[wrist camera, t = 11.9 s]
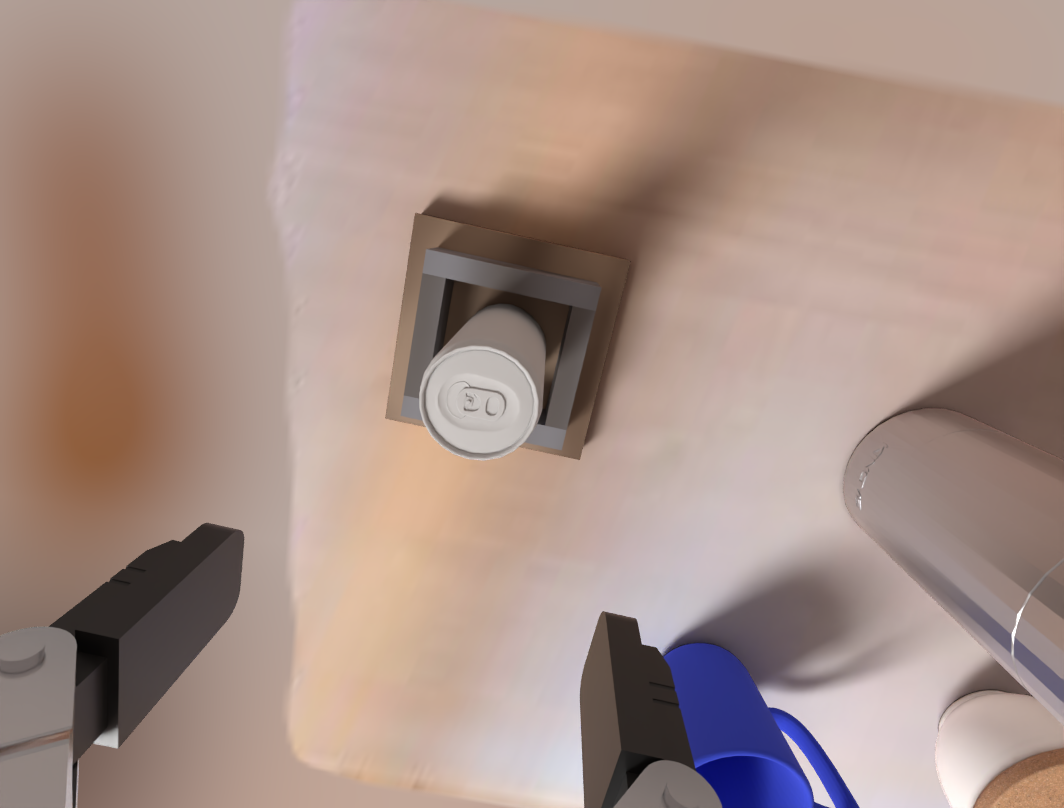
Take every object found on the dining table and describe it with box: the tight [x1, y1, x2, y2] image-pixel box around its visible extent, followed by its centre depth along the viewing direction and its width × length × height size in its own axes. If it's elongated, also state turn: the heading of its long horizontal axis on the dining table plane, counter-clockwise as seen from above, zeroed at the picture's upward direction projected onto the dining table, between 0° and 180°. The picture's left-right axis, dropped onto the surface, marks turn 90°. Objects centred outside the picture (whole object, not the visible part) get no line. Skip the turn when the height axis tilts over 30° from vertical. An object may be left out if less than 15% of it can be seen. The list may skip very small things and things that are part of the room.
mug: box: [663, 643, 859, 808], centre depth 37 cm, size 8×12×10 cm
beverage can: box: [419, 304, 546, 460], centre depth 27 cm, size 5×5×12 cm
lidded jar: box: [935, 690, 1064, 808], centre depth 37 cm, size 11×11×9 cm
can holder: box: [385, 213, 631, 460], centre depth 33 cm, size 12×12×4 cm
